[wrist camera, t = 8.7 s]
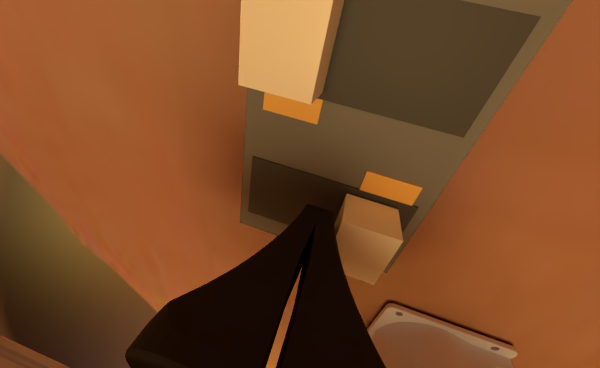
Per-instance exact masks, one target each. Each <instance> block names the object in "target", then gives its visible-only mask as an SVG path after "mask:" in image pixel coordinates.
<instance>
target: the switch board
mask: <svg viewBox="0 0 600 368" xmlns="http://www.w3.org/2000/svg"><path fill="white" fill-rule="evenodd" d="M572 1H573V0H344V4H343V8H342V12H341V16H340V21H339V25H338V29H337V33H336V38H335V42H334V46H333V50H332V55H331V59H330V63H329V67H328V72H327V76H326V80H325V84H324V89H323V92H322V94H321V95H320V96H319V97H318V98H317V99H316V100H315V101H314V102H313V103H312V104H311V105H310V104H307V103H303V102H299V101H296V100H292V99H288V98H285V97H281V96H277V95H274V94H270V93H266V92H263V91H259V90H255V89H252V88H248V87H247V104H246V122H245V140H244V158H243V176H242V194H241V213H240V223H243V224H246V225H249V226H251V227H254V228H257V229H260V230H263V231H266V232H269V233H272V234H275V235H279V234H281V233H282V232H283V231H284V230H285V229H286V228H287V227H288V226H289V225H290V224H291V223H292V222H293V221H294V220H295V219H296V217H297V216H298V215H299V214H300V213H301V211H302V210H303V209H304V207H305V206H306V205H307V204H310V205H313V206H316V207H320V208H323V209H326V210H329V211H332V212H333V213H334V225H335V222H336V220H337V217H338V215H339V212H340V209H341V207H342V204H343V202H344V199H345V196H346V194H350V195H354V196H357V197H360V198H363V199H366V200H370V201H373V202H376V203H379V204H382V205H386V206H389V207H392V208H395V209H398V210H399V217H400V223H401V230H402V236H403V243H402V244H401V246H400V247H399V249H398V250H397V252H396V253H395V255H394V256H393V258H392V259H391V261H390V262H389V264H388V265H387V267H386V268H385V270H384V271H383V272H385V273H387V272H388V270H389V269H390V267H391V266H392V264H393V263H394V261H395V260H396V258H397V257H398V256H399V254H400V253H401V251H402V250H403V248H404V247H405V245H406V244H407V242H408V241H409V239H410V238H411V236H412V235H413V234H414V232H415V231H416V229H417V228H418V226H419V225H420V223H421V222H422V220H423V219H424V217H425V216H426V215H427V213H428V212H429V210H430V209H431V207H432V206H433V204H434V203H435V201H436V200H437V198H438V197H439V195H440V194H441V193H442V191H443V190H444V188H445V187H446V185H447V184H448V182H449V181H450V179H451V178H452V176H453V175H454V174H455V172H456V171H457V169H458V168H459V166H460V165H461V163H462V162H463V160H464V159H465V157H466V156H467V154H468V153H469V152H470V150H471V149H472V147H473V146H474V144H475V143H476V141H477V140H478V138H479V137H480V135H481V134H482V132H483V131H484V130H485V128H486V127H487V125H488V124H489V122H490V121H491V119H492V118H493V116H494V115H495V113H496V112H497V111H498V109H499V108H500V106H501V105H502V103H503V102H504V100H505V99H506V97H507V96H508V94H509V93H510V91H511V90H512V89H513V87H514V86H515V84H516V83H517V81H518V80H519V78H520V77H521V75H522V74H523V72H524V71H525V70H526V68H527V67H528V65H529V64H530V62H531V61H532V59H533V58H534V56H535V55H536V53H537V52H538V50H539V49H540V48H541V46H542V45H543V43H544V42H545V40H546V39H547V37H548V36H549V34H550V33H551V31H552V30H553V29H554V27H555V26H556V24H557V23H558V21H559V20H560V18H561V17H562V15H563V14H564V12H565V11H566V9H567V8H568V7H569V5H570V4H571V2H572Z"/></svg>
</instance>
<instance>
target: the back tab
mask: <svg viewBox="0 0 600 368" xmlns="http://www.w3.org/2000/svg"><path fill="white" fill-rule="evenodd" d="M334 226H335V234H336V240H337V245H338V250H339V254H340V259H341V262H342V266H343V270H344V273H345V275H346V276H349V277H352V278H355V279H358V280H361V281H363V282H366V283H369V284H372V285H375V283H376V282H377V280H378V279H379V277H380V276H381V274H382V273H383V271H384V270H385V268H386V267H387V265H388V264H389V262H390V261H391V259H392V258H393V256H394V255H395V253H396V252H397V250H398V249H399V247H400V246H401V244H402V243H403V236H402V230H401V223H400V217H399V210H398V209H395V208H392V207H389V206H386V205H382V204H379V203H376V202H373V201H370V200H366V199H363V198H360V197H357V196H354V195H350V194H346V196H345V199H344V202H343V204H342V207H341V209H340V212H339V215H338V217H337V220H336V222H335V225H334Z"/></svg>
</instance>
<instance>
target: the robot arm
mask: <svg viewBox="0 0 600 368" xmlns="http://www.w3.org/2000/svg"><path fill="white" fill-rule="evenodd" d="M302 265H303V266H302ZM301 267H302V270H301ZM300 270H301V275H300V280H299V285H298V290H297V294H296V299H295V304H294V308H293V312H292V315H291V319H290V322H289V325H288V329H287V332H286V335H285V339H284V342H283V346H282V349H281V352H280V356H279V359H278V362H277V366H276V368H514V367H513V364H512V362H511V360H510V359H512V358H514V357H516V356H517V355H518V353H517V351H516V349H515V347H513V346H511V345H508V344H506V343H503V342H500V341H497V340H494V339H492V338H489V337H486V336H483V335H480V334H478V333H475V332H472V331H469V330H466V329H464V328H461V327H458V326H455V325H453V324H450V323H447V322H444V321H441V320H439V319H436V318H433V317H430V316H427V315H425V314H422V313H419V312H416V311H413V310H411V309H408V308H405V307H402V306H400V305H397V304H394V303H389V304H387V305H386V306H385V307H384V308H383V310H382V311H381V312H380V313H379V315H378V316H377V317H376V318H375V320H374V321H373V322H372V324H371V325H370V326H369V327H368V329H366V326H365V324H364V322H363V320H362V318H361V315H360V313H359V311H358V309H357V306H356V304H355V301H354V299H353V296H352V294H351V291H350V288H349V285H348V282H347V279H346V276H345V273H344V270H343V266H342V262H341V259H340V254H339V250H338V245H337V240H336V234H335V226H334V213H333V212H332V211H329V210H326V209H323V208H320V207H316V206H313V205H310V204H307V205H306V206H305V207H304V209H303V210H302V211H301V213H300V214H299V215H298V216H297V217H296V219H295V220H294V221H293V222H292V223H291V224H290V225H289V226H288V227H287V228H286V229H285V230H284V231H283V232H282V233H281V234H279V235H278V236H277V237H276V238H275V239H274V240H273V241H271V242H270V243H269V244H268V245H267V246H265V247H264V248H263V249H261V250H260V251H259V252H257V253H256V254H255V255H253V256H252V257H250V258H249V259H247V260H246V261H244V262H243V263H241V264H240V265H238V266H237V267H235V268H233V269H232V270H230V271H228V272H227V273H225V274H223V275H221V276H219V277H218V278H216V279H214V280H212V281H210V282H209V283H207V284H205V285H203V286H201V287H199V288H197V289H195V290H192V291H190V292H188V293H186V294H184V295H182V296H180V297H178V298H176V299H173V300H171V301H170V302H168V303H167V304H166V305H165V306H164V307H163V308H162V309H161V310H160V311H159V312H158V313H157V314H156V315H155V317H154V318H153V319H152V320H151V321H150V322H149V323H148V324H147V325H146V326H145V328H144V329H143V330H142V332H141V333H140V334H139V335H138V336H137V338H136V339H135V340H134V342H133V343H132V344H131V346H130V347H129V348H128V349H127V351H126V353H125V358H126V360H127V362H128V364H129V366H130V367H131V368H266V365H267V361H268V358H269V355H270V352H271V349H272V346H273V343H274V340H275V337H276V334H277V330H278V327H279V324H280V321H281V318H282V315H283V312H284V309H285V306H286V304H287V301H288V298H289V296H290V294H291V291H292V289H293V287H294V284H295V282H296V279H297V277H298V275H299V272H300ZM0 368H70V367H67V366H65V365H63V364H61V363H59V362H57V361H54V360H52V359H50V358H48V357H46V356H44V355H42V354H39V353H37V352H35V351H33V350H31V349H29V348H26V347H24V346H22V345H20V344H18V343H16V342H14V341H11V340H9V339H7V338H5V337H3V336H1V335H0Z"/></svg>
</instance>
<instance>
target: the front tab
mask: <svg viewBox="0 0 600 368" xmlns="http://www.w3.org/2000/svg"><path fill="white" fill-rule="evenodd" d="M343 4H344V0H241V19H240V49H239V79H238V85H241V86H244V87H248V88H252V89H255V90H259V91H263V92H266V93H270V94H274V95H277V96H281V97H285V98H288V99H292V100H296V101H299V102H303V103H307V104H310V105H311V104H312V103H313V102H314V101H315V100H316V99H317V98H318V97H319V96H320V95H321V94H322V92H323V89H324V84H325V80H326V76H327V72H328V67H329V63H330V59H331V55H332V50H333V46H334V42H335V38H336V33H337V29H338V25H339V21H340V16H341V12H342V8H343Z"/></svg>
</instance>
